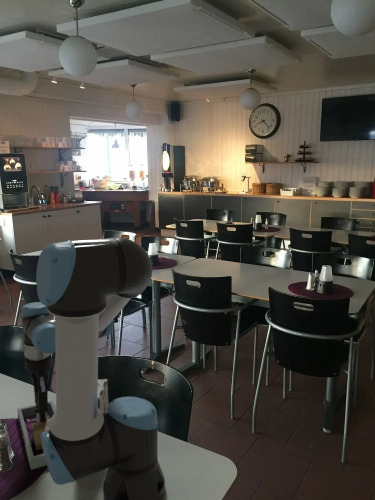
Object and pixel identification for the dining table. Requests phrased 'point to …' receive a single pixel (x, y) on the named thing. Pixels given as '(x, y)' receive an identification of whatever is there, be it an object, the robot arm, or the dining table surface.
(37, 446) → the oak block
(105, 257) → the robot arm
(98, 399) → the candy bar box
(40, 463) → the channel
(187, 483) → the dining table surface
